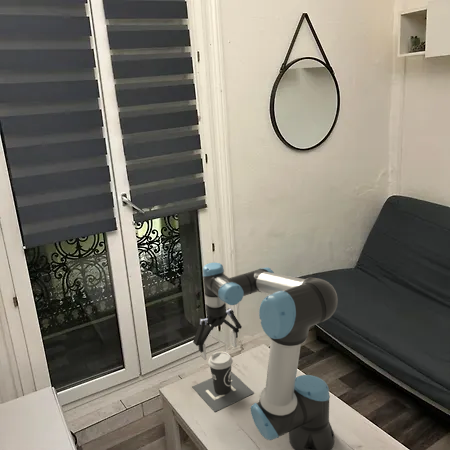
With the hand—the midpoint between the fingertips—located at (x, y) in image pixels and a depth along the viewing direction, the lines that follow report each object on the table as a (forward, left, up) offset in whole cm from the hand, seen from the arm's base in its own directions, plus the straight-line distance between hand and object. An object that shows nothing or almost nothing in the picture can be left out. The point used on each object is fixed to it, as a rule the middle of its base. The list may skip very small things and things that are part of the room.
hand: (219, 351), depth 183 cm
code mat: (0, 0, -18) cm, 18 cm away
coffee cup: (0, 0, -18) cm, 18 cm away
